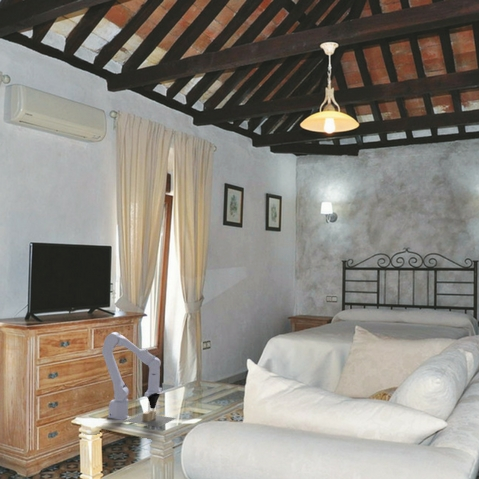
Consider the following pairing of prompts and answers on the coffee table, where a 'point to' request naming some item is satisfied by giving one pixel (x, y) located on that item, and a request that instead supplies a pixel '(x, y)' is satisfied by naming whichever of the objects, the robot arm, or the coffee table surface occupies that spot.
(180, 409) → the coffee table surface
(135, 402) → the coffee table surface
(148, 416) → the maple block
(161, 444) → the coffee table surface
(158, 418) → the mat
